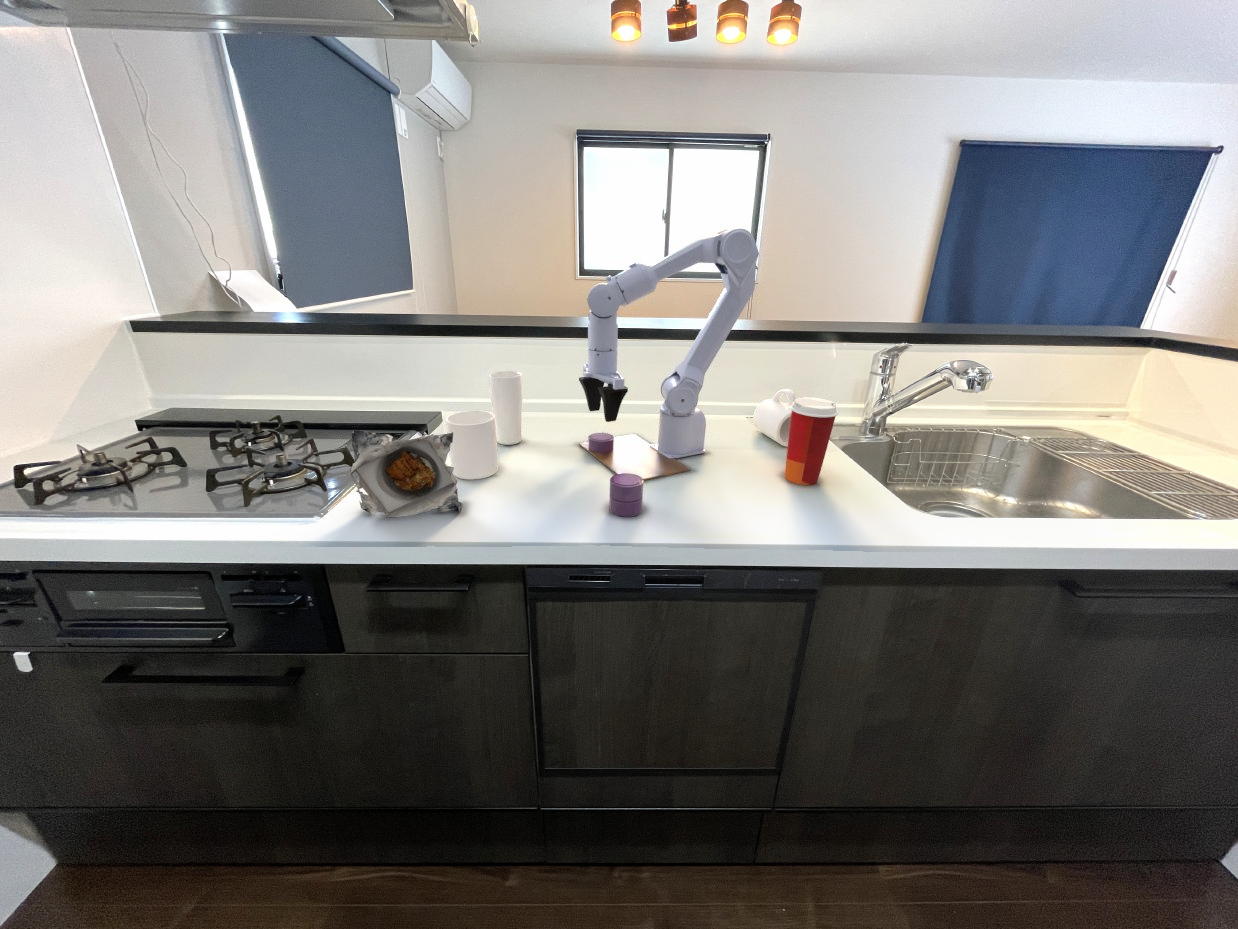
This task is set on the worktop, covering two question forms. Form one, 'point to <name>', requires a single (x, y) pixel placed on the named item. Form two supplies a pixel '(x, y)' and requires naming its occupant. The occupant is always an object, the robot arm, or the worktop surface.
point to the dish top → (601, 442)
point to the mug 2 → (775, 417)
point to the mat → (637, 458)
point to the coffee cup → (808, 438)
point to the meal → (404, 474)
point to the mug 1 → (473, 444)
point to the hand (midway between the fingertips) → (602, 415)
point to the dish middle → (626, 487)
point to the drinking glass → (507, 405)
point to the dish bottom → (625, 507)
